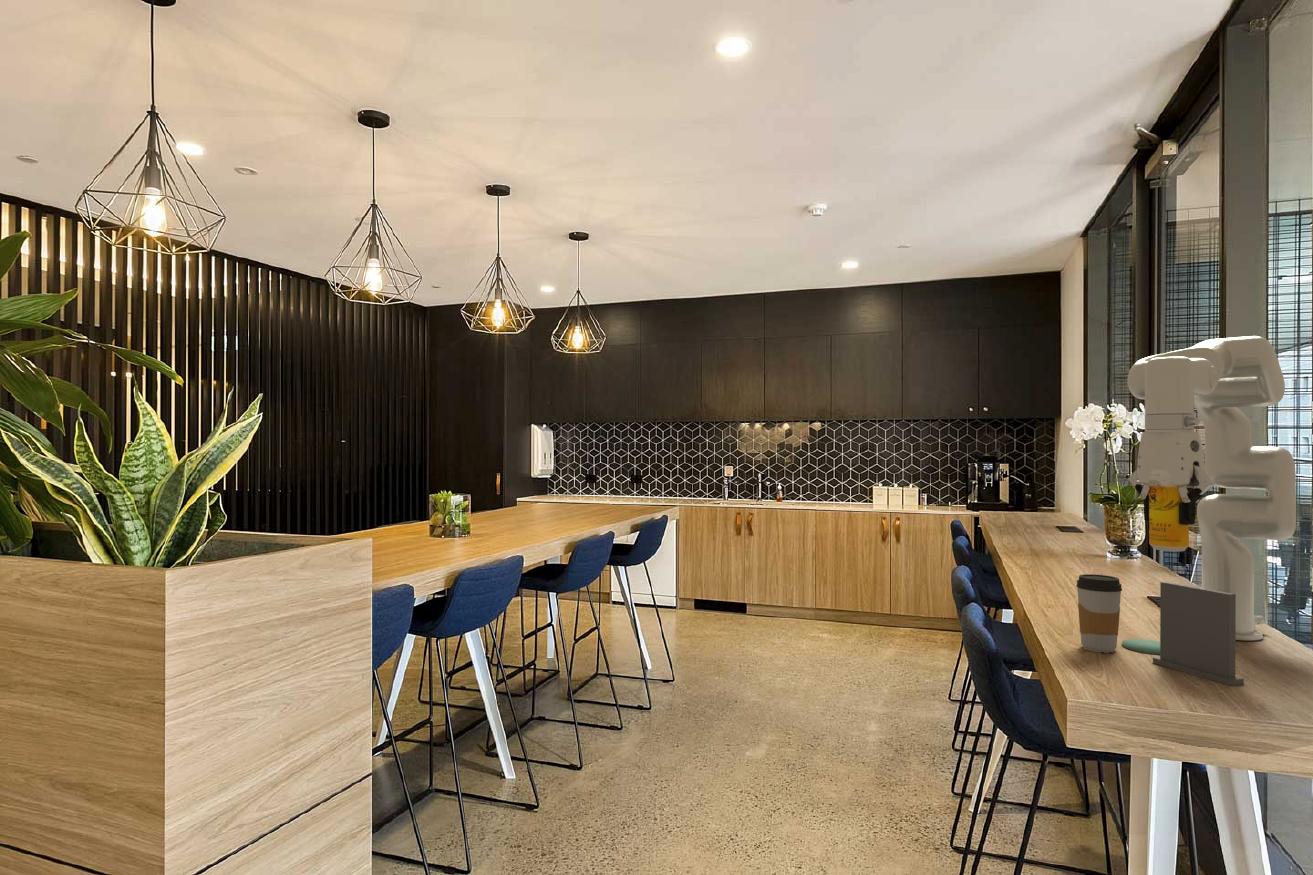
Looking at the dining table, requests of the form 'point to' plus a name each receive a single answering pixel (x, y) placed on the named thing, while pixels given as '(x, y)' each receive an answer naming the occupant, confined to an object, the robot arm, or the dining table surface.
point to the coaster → (1142, 646)
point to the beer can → (1165, 513)
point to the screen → (1198, 632)
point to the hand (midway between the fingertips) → (1169, 521)
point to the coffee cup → (1099, 611)
